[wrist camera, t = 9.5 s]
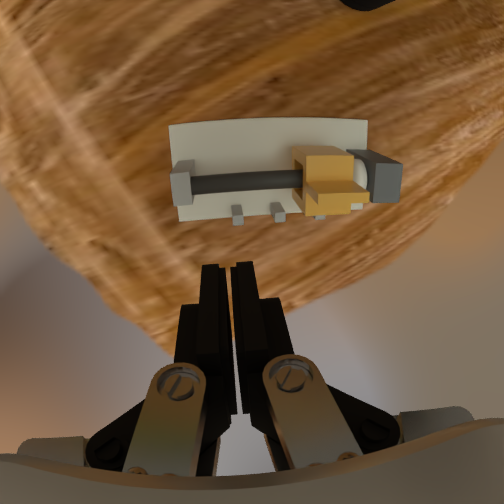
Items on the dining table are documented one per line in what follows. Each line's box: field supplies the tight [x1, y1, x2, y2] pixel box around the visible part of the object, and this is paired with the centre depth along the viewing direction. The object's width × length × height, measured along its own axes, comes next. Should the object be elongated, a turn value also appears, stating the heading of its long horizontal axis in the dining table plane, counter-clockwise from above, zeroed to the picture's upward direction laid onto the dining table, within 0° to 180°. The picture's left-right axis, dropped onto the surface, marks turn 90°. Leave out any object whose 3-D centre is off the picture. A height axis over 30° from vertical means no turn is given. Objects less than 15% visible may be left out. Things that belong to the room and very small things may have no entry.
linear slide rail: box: [169, 117, 403, 226], centre depth 28 cm, size 20×10×8 cm, turn 92°
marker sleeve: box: [292, 146, 370, 216], centre depth 25 cm, size 4×5×8 cm
